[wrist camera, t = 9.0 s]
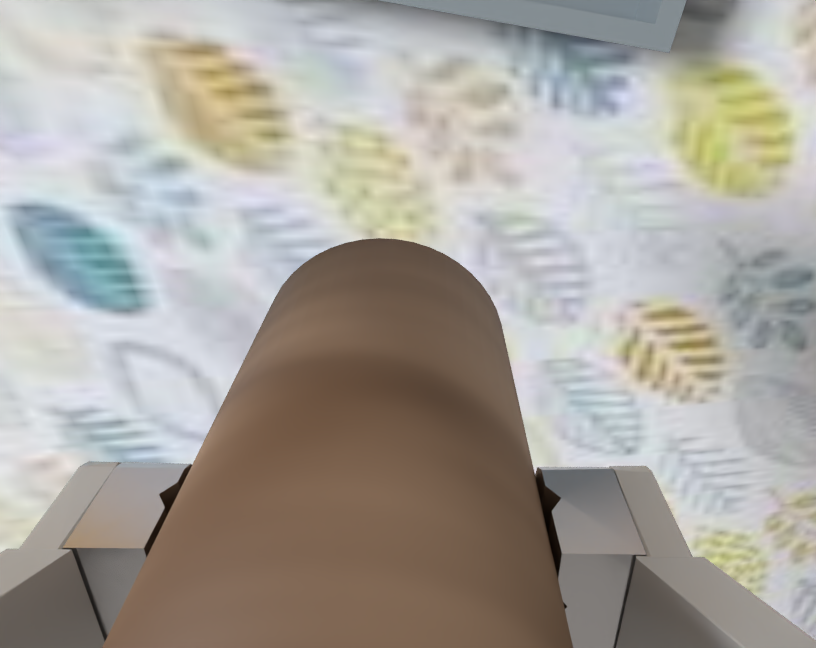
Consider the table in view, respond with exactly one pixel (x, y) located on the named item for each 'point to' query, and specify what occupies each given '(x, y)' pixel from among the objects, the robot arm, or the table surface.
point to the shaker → (360, 478)
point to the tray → (577, 17)
